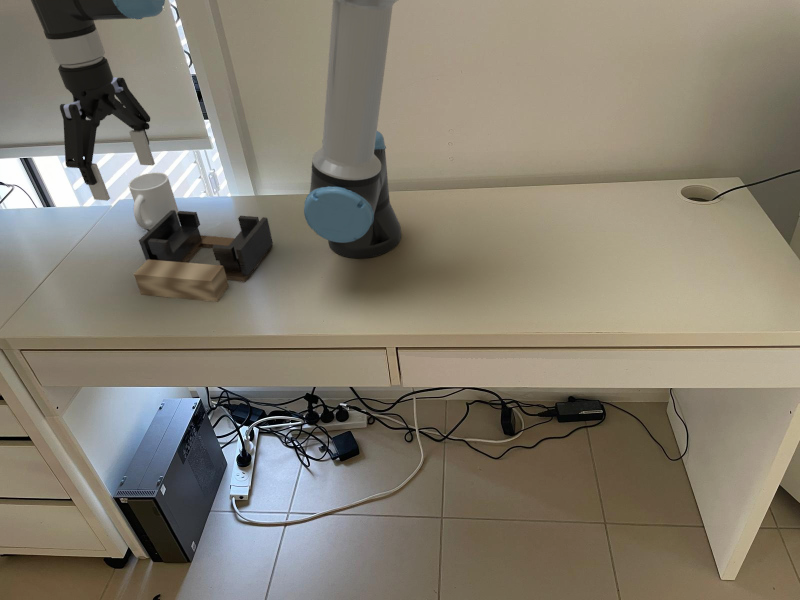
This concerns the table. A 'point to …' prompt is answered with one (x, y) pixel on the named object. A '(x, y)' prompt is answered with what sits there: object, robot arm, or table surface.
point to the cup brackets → (209, 243)
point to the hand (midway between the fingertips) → (126, 181)
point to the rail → (182, 280)
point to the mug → (152, 198)
